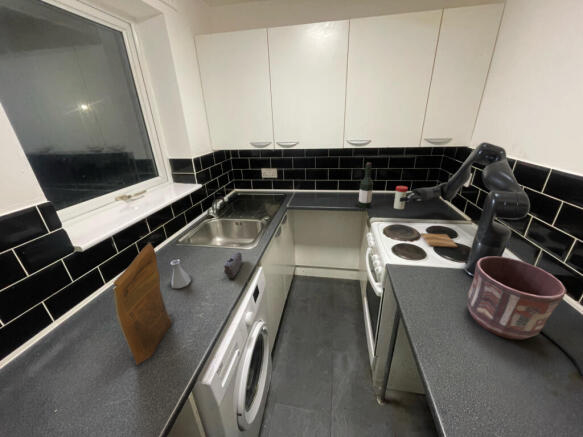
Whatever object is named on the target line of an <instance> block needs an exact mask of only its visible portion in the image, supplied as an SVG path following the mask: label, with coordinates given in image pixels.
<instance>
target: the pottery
mask: <svg viewBox="0 0 583 437" xmlns="http://www.w3.org/2000/svg"><path fill="white" fill-rule="evenodd" d="M566 293H567V288H566V287H565V285H564V284H563V282H562V281H561V280H559V279H558V278H557V277H556V276H555V275H553V274H551V273H549V272H548V271H546V270H544V269H542V268H541V267H538V266H535V265H533V264H531V263H528V262H525V261H522V260H520V259H515V258H512V257H511V258H510V257H505V256H502V257H498V256H492V257H484V258H481V259H479V260H478V262H477V264H476V268H475V275H474V277H473V279H472V283H471V285H470V288H469V291H468V293H467V298H466V300H467V301H466V302H467V303H466V304H467V309H468V311H469V313H470V315H471V317H472V318H473V320H475V322H476V323H477V324H478V325H479V326H480V327H481V328H483V329H484V330H486V331H488V333H491V334H493V335H495V336H498V337H501V338H504V339H509V340H521V341H522V340H526V339H529V338H531V337H535V336H537V335H539V334H540V333H541V332H540V331H541V330H543V328H544V326H545V324H546V323H547V321H548V319H549V317H550V315H551V314H552V313H553V311H554V310H555V309H556V308H557V306H558V305H559V304H560V303H561V301H562V300H563V299H564V298H565V295H566Z"/></svg>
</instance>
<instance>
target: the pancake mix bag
mask: <svg viewBox="0 0 583 437" xmlns="http://www.w3.org/2000/svg"><path fill="white" fill-rule="evenodd" d="M160 276H161V275H160V272H159V268H158V262H157V254H156V250H155V248H154V246H153V244H151V242H148V243H147V244H146V245H145V246H144V247H143V248H142V249H141V251H140V252H139V253H138V254H137V255H136V256H135V257H134V259H133V260H132V261H131V263H130V264H129V265H128V267H126V269H125V270H124V271H123V272H121V274H120V275H119V276H117V278H116V279H115V280H114V281H112V282H113V284H114V287H113V288H112V289H111V290H112V295H113V302H114V310H115V315H116V319H117V323H118V325H119V328H120V331H121V333H122V335H123V337H124V339H125V341H126V343H127V346H128V348H129V351H130V353H131V354H132V356H133V358H134V361H135V366H138V365H139V364H141V363H143V362H145V361H146V360H148V359H150V357H152V356H153V355H154V353H155V352H156V350H157V348H158V347H159V345H160V344H161V342H162V340H163V339H164V337H165V335H166V333H167V332H168V330H169V328H170V327H171V326H172V318H171V317H170V315H169V314H168V311H167V307H166V305H165V301H164V298H163V295H162V292H161V281H160V280H161V279H160Z"/></svg>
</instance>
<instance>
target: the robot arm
mask: <svg viewBox="0 0 583 437" xmlns="http://www.w3.org/2000/svg"><path fill="white" fill-rule="evenodd" d="M474 163H477V164H480V165H483V166H485V167H484V168H483V169H482V171H481V179H482V182H483V185H484V186H485V188H486V189H488V190H489V192H488V194H487V195H486V196H485V200H484V203H483V207H482V210H481V215H480V218H479V221H478V225H477V229H476V232H475V235H474V238H473V241H472V243H471V246H470V250H469V253H468V256H467V259H466V262H465V264H464V267H463V271H464V272H465V273H466V274H467V275H468V276H470V277H473V278H474V275H475V268H476V264H477V262H478V260H479V259H481V258H484V257H492V256H498V257H503V255H504V253H505V250H506V248H507V245H508V243H509V240H510V238H511V236H512V230H511V229H510V228H509V227H507V226H506V225H504V224H503V223H500V222H498V221H495V218H497V219H505V220H521V219H524V218H525V217H527V216H528V214H529V212H530V209H531V203H530V199H529V196H528V194H527V193H526V192H525V190H524V189H523V188H522V186H520V184H519V183H518V181H517V179H516V177H515V175H514V172H513V170H512V168H511V166H510V164H509V161H508V157H507V152H506V149H505V148H504V147H502V146H499V145H496V144H493V143H489V142H487V141H485V142H481V143H479V144H478V145H477V146H476V147H475V148H474V150H473V151H472V152H471V153H470V154H469V156H468V157H467V158H466V159H465V161H464V162H463V164H461V166H460V167H459V169H458V170H457V171H456V172H455V173H454V174H453V175H452V176H451V177H450V178H449V179H448V180H447V182H442V183H440V184H437V185H436V186H431V187H419V188H414V189H412V190H411V191H407V194H406V197H402V198H400V202H403V201H405V202H409V203H421V202H427V201H429V200H430V201H431V200H437V199H439V198H440V197H441V199H442V200H443V201H448V202H449V201H452V200H453V199H454V198H455V197H456V196H457V194H458V193H459V191H460V189H461V188H462V187H464V185H465V184H466V183H468V182H469V181H470V178H471V174H472V166H473V164H474ZM392 199H395V193H394V194H392ZM540 333H542V334H543V335H544V336H545V337H547V338H548V339H549V340H550V341H552V342H553V343H554V344H555V345H557V346H558V347H559V348H560V350H562V351H563V352H564V353H565V354H566V355H567V356H568V357H569V358H570V359H571V360H572V361H573V362H574V363H575V365H577V367H578V369H579V371H580V374H581V377H582V378H583V365H582V363H581V362H580V361H579V360H578V359H577V357H575V356H574V355H573V354H572V353H571V352H570V351H569V349H568V348H566V347H565V346H563V344H561V343H560V342H559V341H558V340H557V339H555V338H554V337H553V336H551V335H550V334H549V333H547V332H546V331H545V330H543V329H542V330H541V331H540Z"/></svg>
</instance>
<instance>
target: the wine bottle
mask: <svg viewBox="0 0 583 437" xmlns="http://www.w3.org/2000/svg"><path fill="white" fill-rule="evenodd" d="M371 172H372V163H371V162H366V164H365V168H364V177H363V179H362V180H361V181H360V183H359V193H358V204H357V205H358V208H360V209H365V210H367V209H370V208H371V206H372V197H373V188H374V182H373V179H372V178H371Z"/></svg>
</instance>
